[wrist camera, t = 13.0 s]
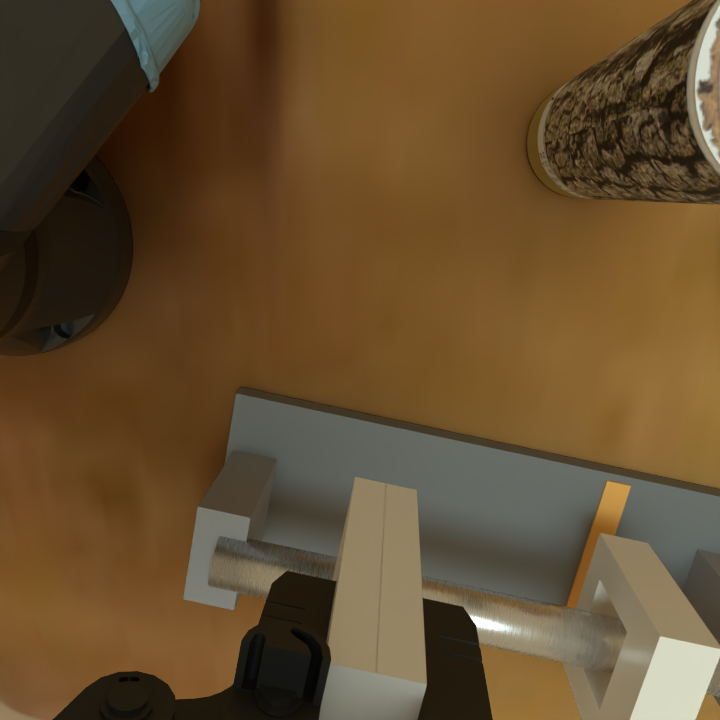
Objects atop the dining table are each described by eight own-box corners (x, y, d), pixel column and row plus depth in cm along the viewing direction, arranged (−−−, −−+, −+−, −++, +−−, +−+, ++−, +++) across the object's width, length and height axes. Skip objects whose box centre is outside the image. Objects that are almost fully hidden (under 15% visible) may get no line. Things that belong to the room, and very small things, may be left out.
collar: (560, 656, 44) (604, 787, 34) (600, 532, 42) (660, 636, 32) (605, 665, 44) (663, 800, 34) (647, 542, 42) (723, 649, 32)
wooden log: (640, 189, 42) (967, 187, 18) (529, 205, 43) (697, 225, 18) (634, 72, 40) (984, -104, 16) (519, 91, 41) (689, -52, 17)
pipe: (219, 568, 41) (204, 600, 37) (227, 521, 40) (212, 549, 37) (746, 682, 40) (775, 723, 37) (765, 636, 40) (796, 674, 36)
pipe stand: (211, 565, 50) (166, 655, 40) (241, 387, 47) (199, 438, 37) (691, 669, 50) (761, 784, 40) (757, 497, 46) (851, 578, 37)
